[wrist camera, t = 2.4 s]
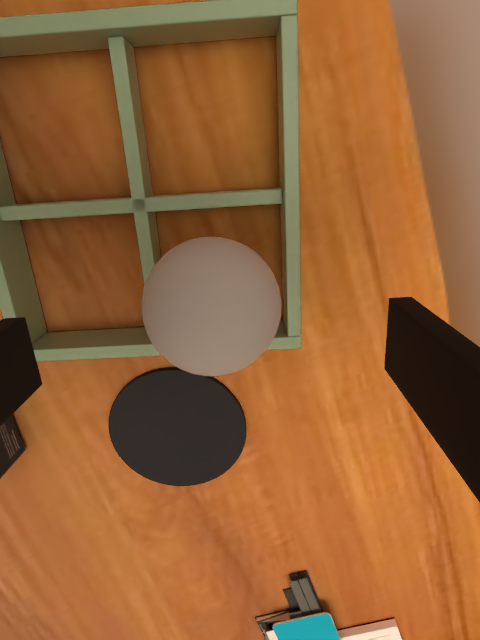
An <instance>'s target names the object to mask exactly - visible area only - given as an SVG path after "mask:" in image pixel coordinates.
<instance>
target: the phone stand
mask: <svg viewBox="0 0 480 640" xmlns="http://www.w3.org/2000/svg"><path fill="white" fill-rule="evenodd" d="M298 574H299V576H300V578H301V579H299V577H298ZM298 574H293V575H289V576H290V579H291V581H292V582H289V583H290V586H291V588H289V589H284V590H283V591H284V594H285V596H286V598H287V600H288V603H289V605H290V607H291V609H290V610H292V611H293V612H292V613H289V611H290V610H285V611H286V612H285V611H281V612H277V613H272V614H268V615H263V616H259V617H255V619H256V622H257V624H258V625H259V627H260V629H261V631H262V633H263V635H264V637H265V640H402V639H401V636H400V633H399V630H398V627H397V624H396V621H395V619H390V620H386V621H381V622H376V623H371V624H367V625H362V626H357V627H353V628H348V629H343V630H339V631H337V629H336V626H335V624H334V621H333V619H332V617H331V614H330V613H328V612H323V610H322V607H321V605H320V602H319V600H318V597H317V595H316V593H315V590H314V588H313V585H312V583H311V581H310V579H309V576H308V574H307V571H305V572H301V573H298ZM269 623H270V624H269ZM270 625H271V626H270ZM271 627H272V629H273V630H272V629H271Z"/></svg>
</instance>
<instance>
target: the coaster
mask: <svg viewBox="0 0 480 640" xmlns="http://www.w3.org/2000/svg"><path fill="white" fill-rule="evenodd" d="M109 433H110V437H111V441H112V443H113V446H114V448H115V450H116V451H117V453H118V455H119V456H120V457H121V458H122V460H123V461H124V462H125V463H126V464H127V465H128V466H129V467H130V468H131V469H133V470H134V471H135V472H137V473H138V474H140V475H142V476H143V477H146V478H148V479H150V480H152V481H155V482H158V483H162V484H167V485H174V486H190V485H197V484H201V483H205V482H208V481H210V480H212V479H215V478H217V477H218V476H220V475H222V474H223V473H225V472H226V471H227V470H228V469H229V468H230V467H231V466H232V465H233V464H234V463H235V462H236V460H237V459H238V458H239V456H240V454H241V452H242V450H243V447H244V444H245V439H246V422H245V417H244V413H243V410H242V408H241V406H240V404H239V402H238V401H237V399H236V398H235V396H234V395H233V394H232V393H231V392H230V390H229V389H227V388H226V387H225V386H224V385H223V384H222V383H220V382H219V381H217V380H216V379H214V378H212V377H210V376H202V375H196V374H192V373H189V372H187V371H184V370H181V369H180V368H163V369H158V370H153V371H150V372H147V373H145V374H142V375H141V376H139V377H137V378H135V379H134V380H132V381H131V382H129V383H128V384H127V385H126V386H125V387H124V388H123V389H122V390H121V392H120V393H119V394H118V396H117V398H116V399H115V401H114V403H113V405H112V408H111V411H110V416H109Z"/></svg>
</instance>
